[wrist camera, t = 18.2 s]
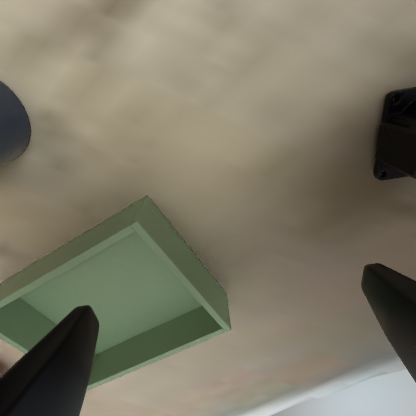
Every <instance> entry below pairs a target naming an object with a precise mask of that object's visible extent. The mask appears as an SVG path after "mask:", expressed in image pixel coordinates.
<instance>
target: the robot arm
mask: <svg viewBox="0 0 416 416" xmlns="http://www.w3.org/2000/svg"><path fill="white" fill-rule="evenodd" d="M395 96H397V98H396V100H395V101H394V102H393V98H394V97H395ZM383 171H384V172H383ZM382 172H383V174H382V175H380V174H381V173H382ZM374 176H375V178H377V179H379V180H388V179H394V178H400V177H407V176H410V177H412V178H414V179H416V87H413V88H407V89H401V90H395V91H392V92H390V93H389V94H388V95H387V97H386V100H385V106H384V112H383V119H382V124H381V126H380V131H379V138H378V144H377V151H376V163H375V170H374ZM361 286H362V290H363V292H364V294H365V296H366V298H367V300H368V302H369V304H370V306H371V308H372V310H373V312H374V314H375V316H376V318H377V320H378V322H379V324H380V325H381V327H382V329H383V331H384V333H385V335H386V337H387V338H388V340H389V342H390V343H391V345H392V346H393V348H394V350H395V351H396V353H397V354H398V356H399V357H400V359H401V360H402V362H403V364H404V365H405V367H406V368H407V370H408V371H409V373H410V374H411V376H412V377H413V379H414V380H415V382H416V281H414V280H412V279H410V278H408V277H406V276H404V275H402V274H400V273H398V272H396V271H394V270H392V269H390V268H388V267H386V266H384V265H382V264H379V263H375V264H368V265H366V266H365V267H364V270H363V276H362V282H361ZM98 332H99V321H98V319H97V317H96V315H95V313H94V311H93V309H92V307H91V306H90V305H83V306H78V307H76V308H74V309H73V310H72V311H71V312H70V313H69V314H68V315H67V316H66V317H65V318H64V319H62V320H61V321H60V322H59V323H58V324H57V325H56V326H55V327H54V328H53V329H52V330H51V331H50V332H49V333H47V334H46V335H45V336H44V337H43V338H42V339H41V340H40V341H39V342H38V343H37V344H36V345H35V346H34V347H33V348H31V349H30V350H29V351H28V352H27V353H26V354H25V355H24V356H23V357H22V358H21V359H20V360H19V361H18V362H16V363H15V364H14V365H13V366H12V367H11V368H10V369H9V370H8V371H7V372H6V373H5V374H4V375H3V376H1V377H0V416H79V414H80V411H81V407H82V404H83V400H84V397H85V393H86V390H87V386H88V383H89V379H90V375H91V370H92V365H93V360H94V354H95V349H96V343H97V338H98Z"/></svg>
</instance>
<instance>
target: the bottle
mask: <svg viewBox="0 0 416 416" xmlns="http://www.w3.org/2000/svg"><path fill="white" fill-rule="evenodd" d="M30 132H31V131H30V123H29V119H28V116H27V113H26V111H25V109H24V107H23V105H22V104H21V102H20V101H19V99H18V98H17V97H16V95H15V94H14V93H13V92H12V91H11V90H10V89H9V88H8V87H7V86H6V85H5V84H3V83H2V82H1V81H0V166H1V165H3V164H5V163H7V162H9V161H11V160H13V159H15V158H17V157H19V156H20V155H21V154H22V153H23V152H24V151H25V149H26V148H27V146H28V143H29V140H30Z"/></svg>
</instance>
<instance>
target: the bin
mask: <svg viewBox="0 0 416 416" xmlns="http://www.w3.org/2000/svg"><path fill="white" fill-rule="evenodd" d="M83 305H90V306H91V307H92V309H93V311H94V313H95V315H96V317H97V319H98V321H99V332H98V338H97V343H96V349H95V354H94V360H93V365H92V370H91V375H90V379H89V383H88V386H87V390H90V389H92V388H95V387H97V386H99V385H102V384H104V383H106V382H109V381H111V380H113V379H116V378H118V377H121V376H123V375H125V374H128V373H130V372H132V371H135V370H137V369H139V368H142V367H144V366H146V365H149V364H151V363H154V362H156V361H158V360H161V359H163V358H165V357H168V356H170V355H172V354H175V353H177V352H180V351H182V350H184V349H187V348H189V347H191V346H194V345H196V344H198V343H201V342H203V341H206V340H208V339H210V338H213V337H215V336H217V335H220V334H222V333H224V332H227V331H229V330H231V323H230V316H229V308H228V300H227V294H226V293H225V292H224V290H223V289H222V288H221V287H220V285H219V284H218V283H217V282H216V281H215V279H214V278H213V277H212V276H211V274H210V273H209V272H208V271H207V269H206V268H205V267H204V266H203V264H202V263H201V262H200V261H199V259H198V258H197V257H196V256H195V254H194V253H193V252H192V251H191V249H190V248H189V247H188V246H187V244H186V243H185V242H184V241H183V239H182V238H181V237H180V236H179V234H178V233H177V232H176V231H175V229H174V228H173V227H172V226H171V224H170V223H169V222H168V221H167V219H166V218H165V217H164V216H163V215H162V213H161V212H160V211H159V210H158V208H157V207H156V206H155V205H154V203H153V202H152V201H151V200H150V198H149V197H148V196H146V197H144V198H142V199H141V200H139V201H137V202H136V203H134V204H132V205H131V206H129V207H127V208H125V209H124V210H122V211H120V212H119V213H117V214H115V215H114V216H112V217H110V218H109V219H107V220H105V221H104V222H102V223H100V224H99V225H97V226H95V227H94V228H92V229H90V230H89V231H87V232H85V233H84V234H82V235H80V236H79V237H77V238H75V239H74V240H72V241H70V242H69V243H67V244H65V245H64V246H62V247H60V248H59V249H57V250H55V251H54V252H52V253H50V254H49V255H47V256H45V257H44V258H42V259H40V260H39V261H37V262H35V263H34V264H32V265H30V266H29V267H27V268H25V269H24V270H22V271H20V272H19V273H17V274H15V275H14V276H12V277H10V278H9V279H7V280H5V281H4V282H2V283H1V284H0V339H2V340H4V341H5V342H7V343H8V344H10V345H12V346H13V347H15V348H16V349H18V350H20V351H21V352H23V353H24V354H26V353H27V352H28V351H29V350H30V349H31V348H33V347H34V346H35V345H36V344H37V343H38V342H39V341H40V340H41V339H42V338H43V337H44V336H45V335H46V334H47V333H49V332H50V331H51V330H52V329H53V328H54V327H55V326H56V325H57V324H58V323H59V322H60V321H61V320H62V319H64V318H65V317H66V316H67V315H68V314H69V313H70V312H71V311H72V310H73V309H74V308H76V307H78V306H83ZM87 390H86V391H87Z"/></svg>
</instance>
